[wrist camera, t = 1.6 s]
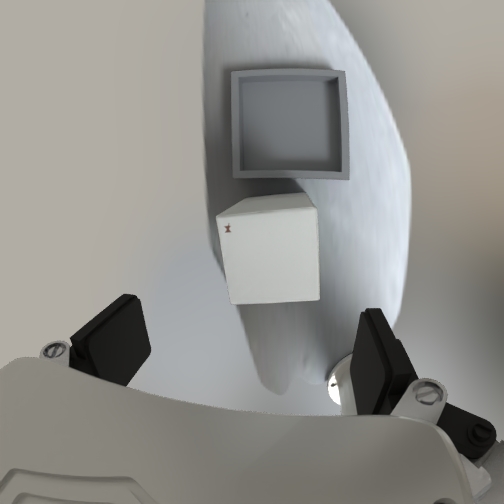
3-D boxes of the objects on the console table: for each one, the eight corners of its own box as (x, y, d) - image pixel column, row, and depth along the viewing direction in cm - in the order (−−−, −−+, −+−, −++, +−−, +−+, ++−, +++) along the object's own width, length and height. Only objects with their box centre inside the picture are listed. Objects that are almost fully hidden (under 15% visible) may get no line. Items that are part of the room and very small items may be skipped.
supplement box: (251, 257, 33) (226, 306, 21) (244, 196, 31) (212, 213, 19) (312, 254, 32) (321, 303, 20) (308, 191, 30) (317, 204, 18)
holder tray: (344, 179, 29) (349, 180, 26) (238, 177, 31) (232, 178, 28) (340, 79, 25) (345, 71, 23) (236, 79, 27) (231, 71, 24)
